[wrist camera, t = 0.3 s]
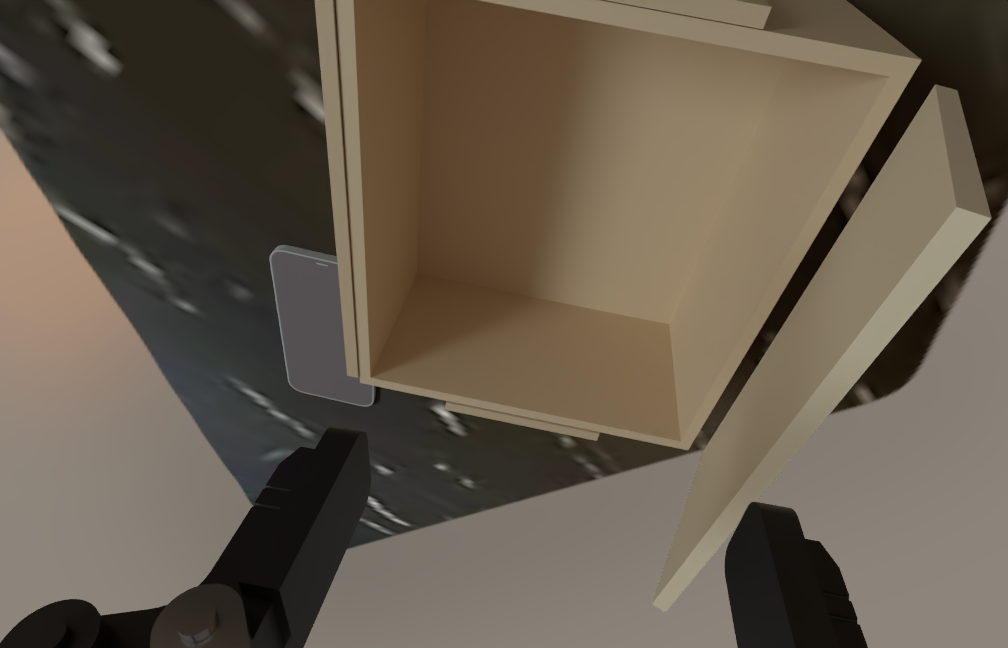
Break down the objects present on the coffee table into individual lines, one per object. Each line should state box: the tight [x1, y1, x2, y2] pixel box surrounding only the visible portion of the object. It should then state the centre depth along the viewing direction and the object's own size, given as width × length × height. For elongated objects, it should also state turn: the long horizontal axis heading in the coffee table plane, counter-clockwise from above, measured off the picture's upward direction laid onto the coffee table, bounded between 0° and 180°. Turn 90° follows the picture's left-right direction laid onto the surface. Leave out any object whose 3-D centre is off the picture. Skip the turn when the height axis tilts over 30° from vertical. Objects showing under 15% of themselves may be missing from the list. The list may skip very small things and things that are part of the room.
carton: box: [315, 0, 922, 450], centre depth 27 cm, size 21×19×10 cm
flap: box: [652, 84, 991, 612], centre depth 20 cm, size 19×9×1 cm
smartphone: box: [270, 245, 376, 406], centre depth 43 cm, size 7×1×15 cm
